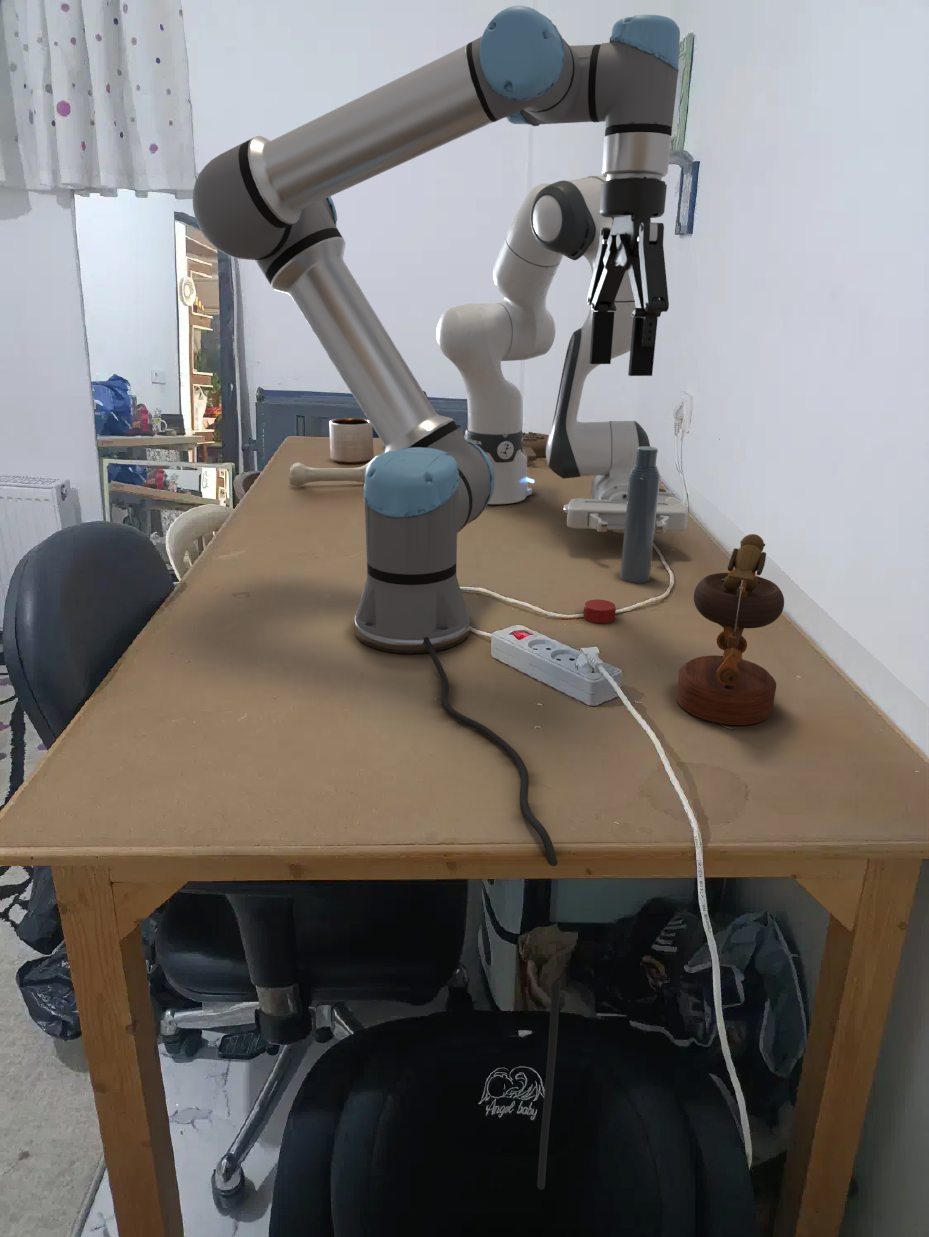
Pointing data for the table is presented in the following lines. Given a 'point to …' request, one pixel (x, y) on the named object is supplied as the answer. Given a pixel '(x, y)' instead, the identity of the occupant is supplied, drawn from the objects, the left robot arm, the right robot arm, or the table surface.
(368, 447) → the planter
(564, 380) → the right robot arm
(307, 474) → the dog toy
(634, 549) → the bottle
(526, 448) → the ice cream bar
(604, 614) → the cap
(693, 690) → the music box
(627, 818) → the table surface
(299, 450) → the table surface
